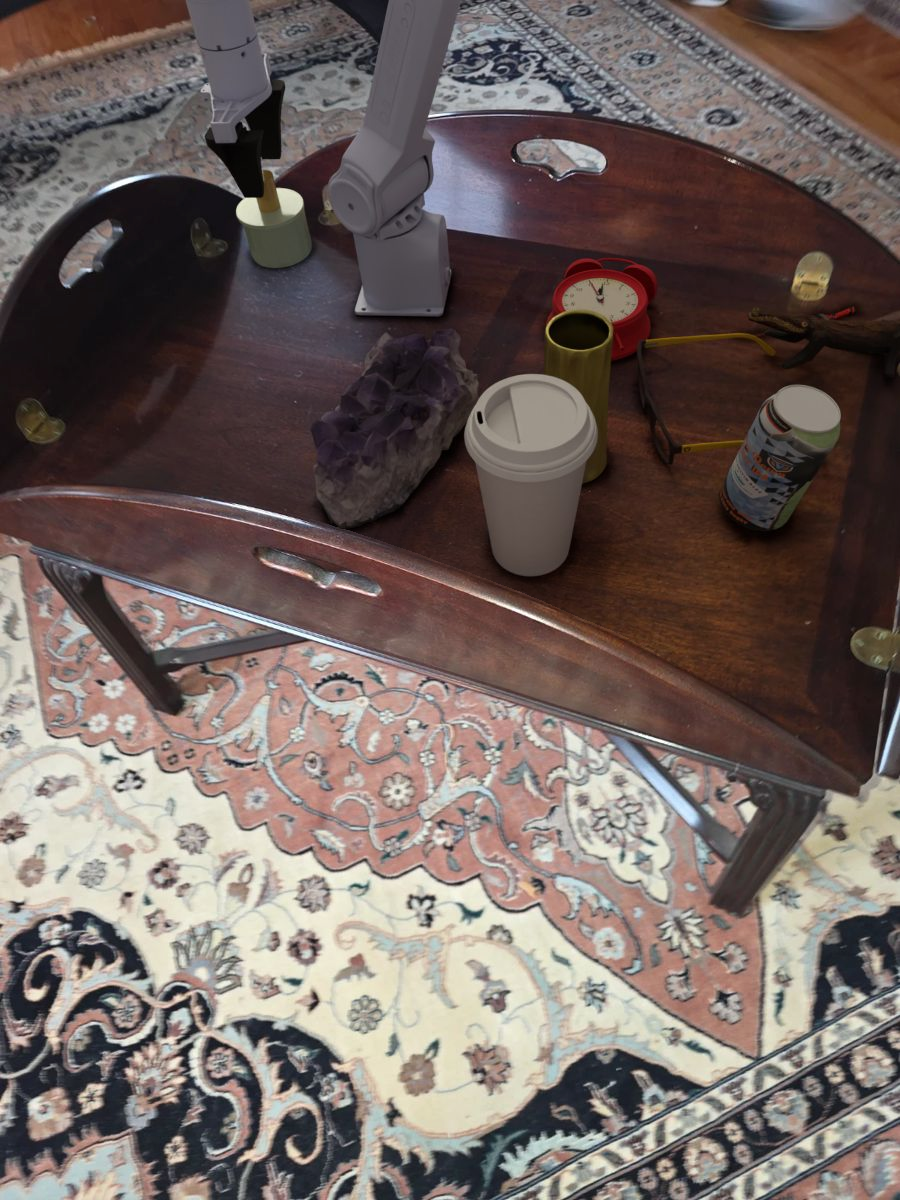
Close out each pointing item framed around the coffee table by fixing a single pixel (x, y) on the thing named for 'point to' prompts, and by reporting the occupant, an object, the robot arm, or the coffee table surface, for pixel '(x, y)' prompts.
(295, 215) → the lid
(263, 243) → the tin
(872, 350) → the toy
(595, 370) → the vase
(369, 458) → the geode
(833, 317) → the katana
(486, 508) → the coffee cup
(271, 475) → the coffee table surface
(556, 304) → the alarm clock
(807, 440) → the beverage can
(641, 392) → the eyeglasses
